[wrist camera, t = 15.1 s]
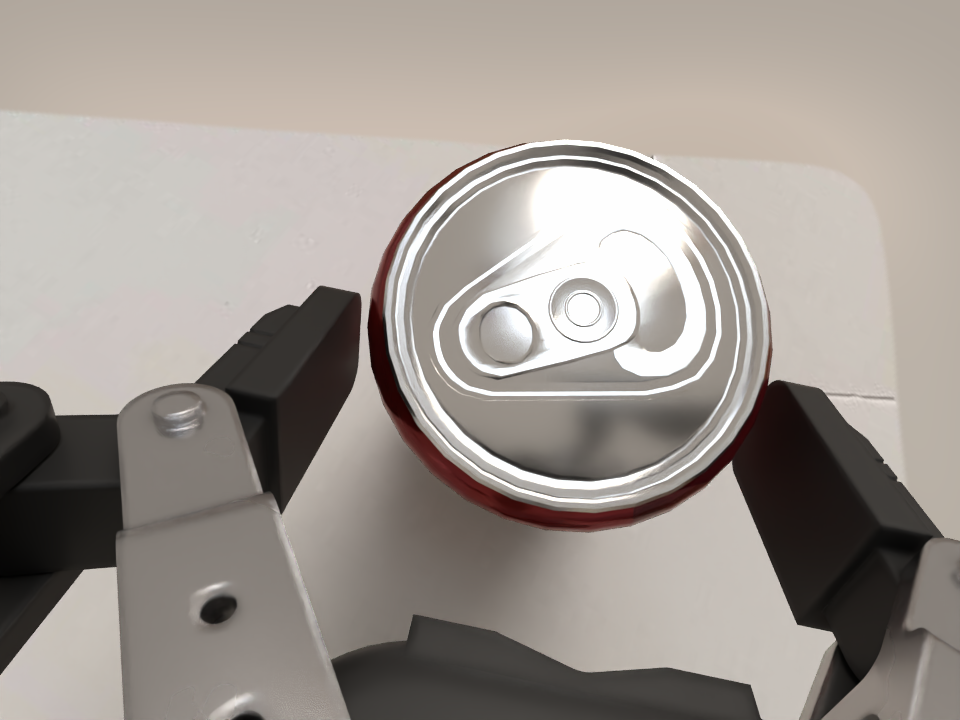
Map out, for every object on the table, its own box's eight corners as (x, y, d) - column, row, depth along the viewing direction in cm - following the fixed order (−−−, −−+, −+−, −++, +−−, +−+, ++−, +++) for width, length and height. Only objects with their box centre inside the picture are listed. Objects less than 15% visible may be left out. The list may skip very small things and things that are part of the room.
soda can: (575, 301, 22) (710, 89, 10) (628, 479, 20) (859, 472, 9) (399, 340, 21) (325, 161, 9) (440, 526, 20) (411, 590, 8)
